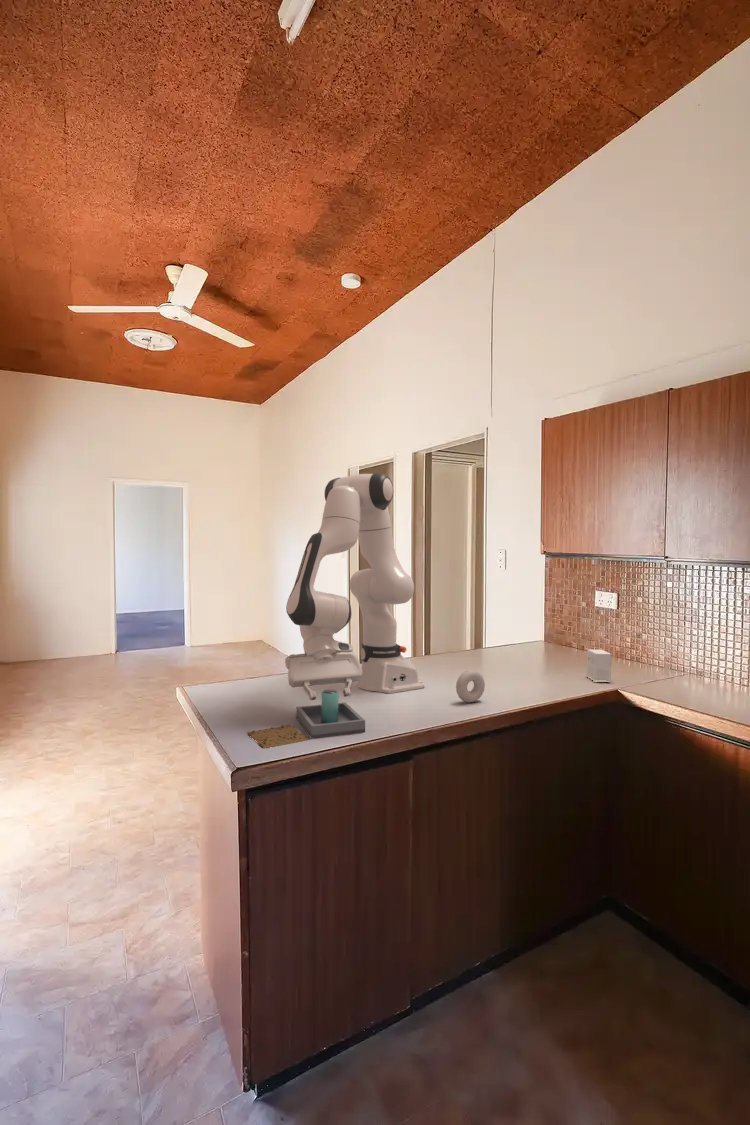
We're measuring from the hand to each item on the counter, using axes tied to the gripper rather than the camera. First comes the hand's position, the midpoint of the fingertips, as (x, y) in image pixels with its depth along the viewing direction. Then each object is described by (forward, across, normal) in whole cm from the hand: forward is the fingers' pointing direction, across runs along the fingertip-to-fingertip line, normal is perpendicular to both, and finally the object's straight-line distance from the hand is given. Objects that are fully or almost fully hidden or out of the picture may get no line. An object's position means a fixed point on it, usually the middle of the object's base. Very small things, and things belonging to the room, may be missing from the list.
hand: (330, 697), depth 143 cm
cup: (+5, 0, +4) cm, 6 cm away
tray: (+5, 0, +5) cm, 7 cm away
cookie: (+9, -15, +2) cm, 17 cm away
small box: (-4, +105, +16) cm, 107 cm away
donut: (+2, +46, +10) cm, 47 cm away
